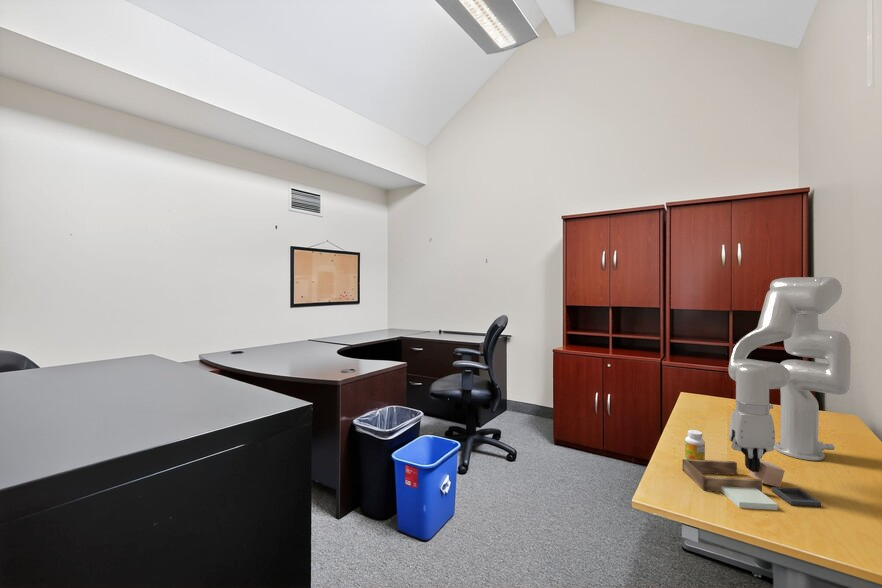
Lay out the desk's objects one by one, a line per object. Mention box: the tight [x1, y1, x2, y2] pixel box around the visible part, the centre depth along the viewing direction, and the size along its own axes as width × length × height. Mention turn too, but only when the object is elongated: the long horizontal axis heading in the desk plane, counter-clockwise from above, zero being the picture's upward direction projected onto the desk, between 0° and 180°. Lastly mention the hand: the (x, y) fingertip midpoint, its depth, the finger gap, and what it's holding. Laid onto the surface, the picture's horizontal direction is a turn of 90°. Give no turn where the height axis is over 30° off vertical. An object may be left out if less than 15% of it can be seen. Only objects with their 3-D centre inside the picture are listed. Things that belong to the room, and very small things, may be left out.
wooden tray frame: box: [682, 458, 763, 493], centre depth 115 cm, size 15×12×4 cm
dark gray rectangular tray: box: [771, 486, 822, 508], centre depth 105 cm, size 7×7×1 cm
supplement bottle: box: [684, 429, 706, 460], centre depth 127 cm, size 5×5×10 cm
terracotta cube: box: [748, 459, 785, 488], centre depth 113 cm, size 5×5×5 cm
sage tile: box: [721, 486, 778, 511], centre depth 104 cm, size 9×8×2 cm
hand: (752, 469), depth 114 cm, fingers closed
